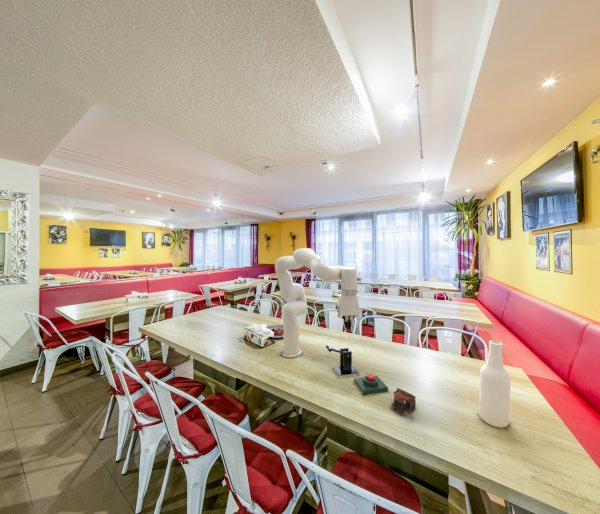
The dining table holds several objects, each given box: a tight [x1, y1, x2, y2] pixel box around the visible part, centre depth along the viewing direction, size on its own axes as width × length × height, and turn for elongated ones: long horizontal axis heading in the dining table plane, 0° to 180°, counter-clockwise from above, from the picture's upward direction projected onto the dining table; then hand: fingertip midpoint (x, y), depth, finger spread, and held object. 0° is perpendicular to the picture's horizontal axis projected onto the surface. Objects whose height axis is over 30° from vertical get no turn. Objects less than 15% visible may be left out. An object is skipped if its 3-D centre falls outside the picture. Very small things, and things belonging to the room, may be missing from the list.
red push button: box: [366, 373, 376, 382], centre depth 112 cm, size 4×4×2 cm
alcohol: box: [478, 339, 511, 428], centre depth 90 cm, size 9×9×30 cm
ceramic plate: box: [266, 324, 284, 339], centre depth 181 cm, size 26×26×3 cm
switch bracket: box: [332, 347, 360, 377], centre depth 125 cm, size 11×9×12 cm
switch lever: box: [325, 344, 346, 355], centre depth 124 cm, size 12×5×2 cm, turn 103°
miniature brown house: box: [390, 387, 417, 416], centre depth 96 cm, size 12×10×8 cm
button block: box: [353, 374, 389, 396], centre depth 112 cm, size 12×10×4 cm
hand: (347, 328), depth 120 cm, fingers closed
